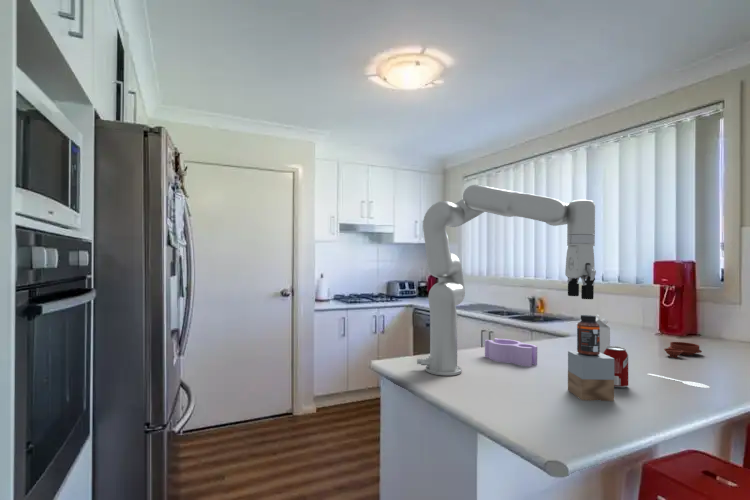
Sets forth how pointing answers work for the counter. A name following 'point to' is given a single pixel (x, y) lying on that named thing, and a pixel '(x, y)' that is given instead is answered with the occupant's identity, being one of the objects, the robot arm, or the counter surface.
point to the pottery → (682, 349)
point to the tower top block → (591, 366)
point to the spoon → (683, 381)
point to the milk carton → (603, 334)
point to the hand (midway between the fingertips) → (580, 297)
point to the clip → (511, 351)
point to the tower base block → (591, 388)
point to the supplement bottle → (588, 336)
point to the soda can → (619, 365)
